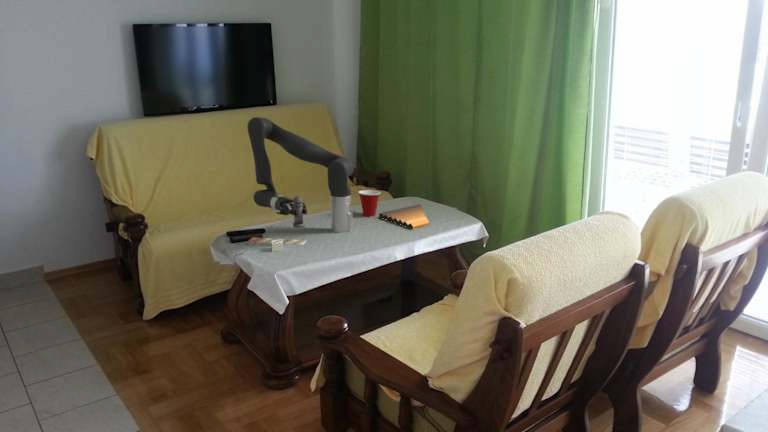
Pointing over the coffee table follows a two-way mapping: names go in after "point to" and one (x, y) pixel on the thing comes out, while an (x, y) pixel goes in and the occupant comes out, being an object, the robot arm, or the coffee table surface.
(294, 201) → the pawn
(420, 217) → the pan flute
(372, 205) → the plastic cup
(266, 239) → the board
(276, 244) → the die
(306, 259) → the coffee table surface
